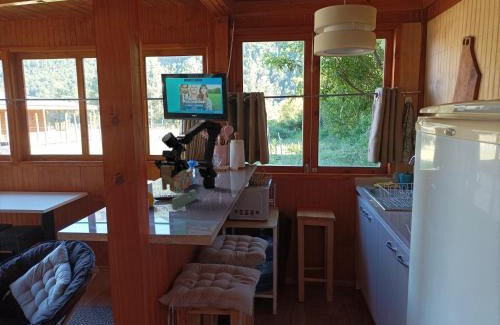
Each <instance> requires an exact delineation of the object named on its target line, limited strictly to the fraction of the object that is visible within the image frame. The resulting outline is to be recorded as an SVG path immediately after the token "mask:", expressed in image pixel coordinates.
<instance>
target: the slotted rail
mask: <svg viewBox="0 0 500 325" xmlns="http://www.w3.org/2000/svg"><path fill="white" fill-rule="evenodd" d="M195 200H197V191H196V189H192V190H190V191H189V190H188V192H185V193H182V194H180V195H177V196H176V197H173V198H172V199H171V207H172V210H177V209H180V208H181V207H183V206H185V205H187V204H190V203H192V202H194V201H195Z"/></svg>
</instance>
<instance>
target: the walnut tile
mask: <svg viewBox="0 0 500 325" xmlns="http://www.w3.org/2000/svg"><path fill="white" fill-rule="evenodd" d="M173 169H174V166H161V177H162V178H161V187H162V191H166V190H168V186H169V191H171V190H174V177H173V178H171V174H172V172H173ZM167 185H168V186H167Z"/></svg>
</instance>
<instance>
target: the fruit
mask: <svg viewBox="0 0 500 325" xmlns="http://www.w3.org/2000/svg"><path fill="white" fill-rule="evenodd" d="M147 191H148V199H149V208H148V209H150V208H151V207H153V205H154V204H155V197H154V195H153V193H152V192H150V191H149V190H147Z"/></svg>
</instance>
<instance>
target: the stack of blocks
mask: <svg viewBox="0 0 500 325" xmlns="http://www.w3.org/2000/svg"><path fill="white" fill-rule="evenodd" d="M193 177H194V174H193V169H188V170H183V171H181V172H180V173H178V174H177V175H176V176H174V190H170V192H182V191H184V190H185V189H187V188H189V187H190V186H191V185H193V184H194V178H193Z"/></svg>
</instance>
